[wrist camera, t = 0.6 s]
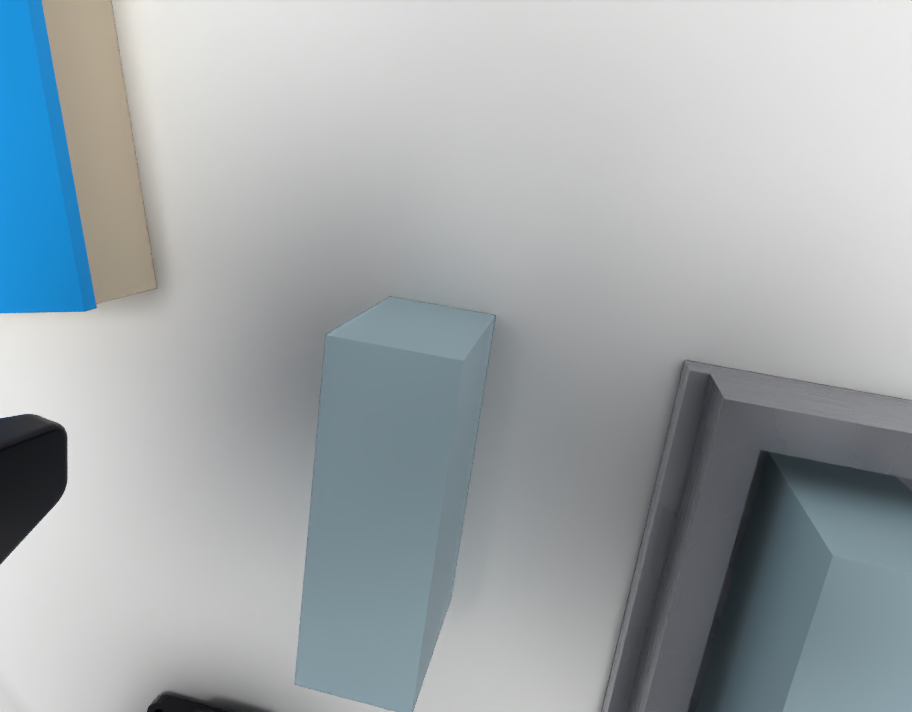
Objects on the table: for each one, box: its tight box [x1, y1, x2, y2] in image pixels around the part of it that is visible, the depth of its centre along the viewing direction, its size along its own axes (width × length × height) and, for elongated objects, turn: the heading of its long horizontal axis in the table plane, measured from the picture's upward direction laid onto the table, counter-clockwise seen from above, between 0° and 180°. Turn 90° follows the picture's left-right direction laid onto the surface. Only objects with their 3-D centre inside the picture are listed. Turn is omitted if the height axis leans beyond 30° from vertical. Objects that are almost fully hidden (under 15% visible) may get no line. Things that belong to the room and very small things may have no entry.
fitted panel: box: [695, 452, 912, 712], centre depth 16 cm, size 9×3×5 cm, turn 172°
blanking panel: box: [295, 296, 496, 712], centre depth 18 cm, size 9×3×5 cm, turn 172°
